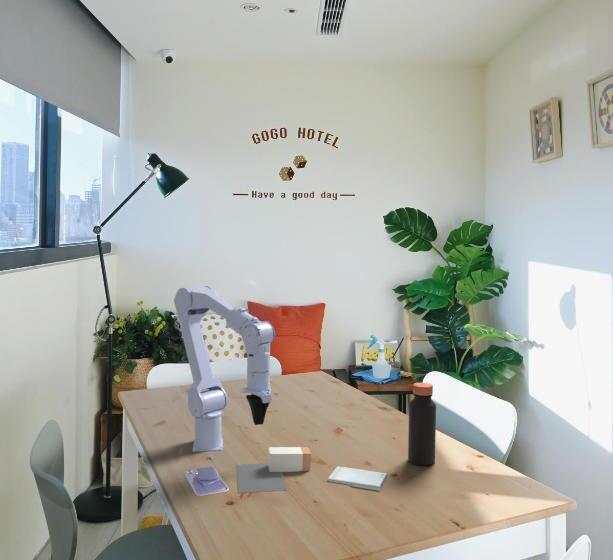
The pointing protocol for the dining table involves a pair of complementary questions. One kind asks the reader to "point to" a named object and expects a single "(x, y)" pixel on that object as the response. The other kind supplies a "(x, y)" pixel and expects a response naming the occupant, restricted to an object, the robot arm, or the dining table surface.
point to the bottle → (422, 426)
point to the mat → (259, 479)
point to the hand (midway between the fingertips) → (258, 423)
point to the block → (289, 459)
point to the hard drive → (358, 478)
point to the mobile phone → (205, 481)
